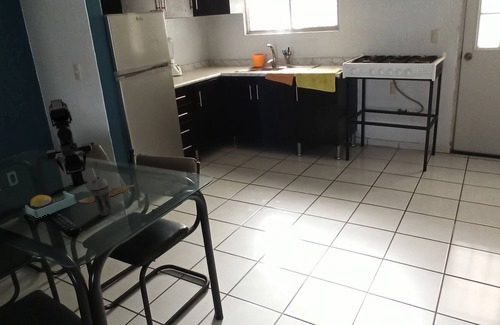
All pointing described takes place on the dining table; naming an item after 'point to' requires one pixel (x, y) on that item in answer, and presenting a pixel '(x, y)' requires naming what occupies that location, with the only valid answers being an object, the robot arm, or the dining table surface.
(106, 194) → the beverage cup
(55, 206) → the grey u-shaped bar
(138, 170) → the dining table surface
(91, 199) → the brown carved slab
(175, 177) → the dining table surface
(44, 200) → the bread roll
